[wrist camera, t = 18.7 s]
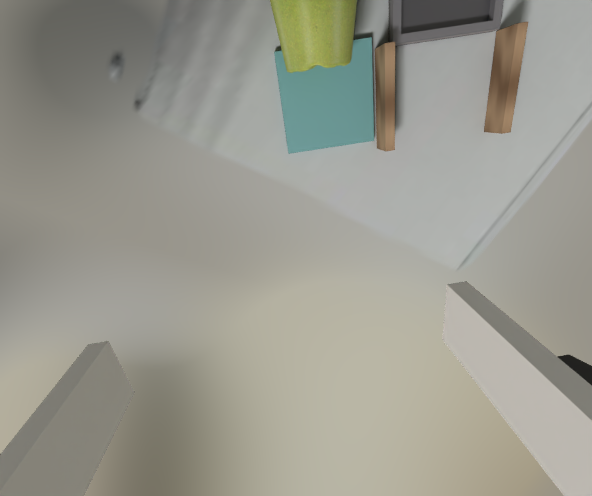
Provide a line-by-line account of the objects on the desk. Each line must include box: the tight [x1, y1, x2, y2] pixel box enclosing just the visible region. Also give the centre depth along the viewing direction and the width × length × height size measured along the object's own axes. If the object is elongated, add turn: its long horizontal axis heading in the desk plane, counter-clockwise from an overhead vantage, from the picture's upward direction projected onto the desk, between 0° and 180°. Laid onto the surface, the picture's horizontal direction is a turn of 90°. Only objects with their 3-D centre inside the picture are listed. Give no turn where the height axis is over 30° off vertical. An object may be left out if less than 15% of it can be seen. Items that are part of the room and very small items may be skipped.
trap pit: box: [389, 0, 503, 46], centre depth 29 cm, size 6×11×1 cm, turn 98°
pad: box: [274, 37, 374, 154], centre depth 32 cm, size 10×10×1 cm
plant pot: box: [270, 0, 357, 73], centre depth 26 cm, size 9×9×9 cm
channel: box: [375, 22, 528, 151], centre depth 32 cm, size 10×14×3 cm
